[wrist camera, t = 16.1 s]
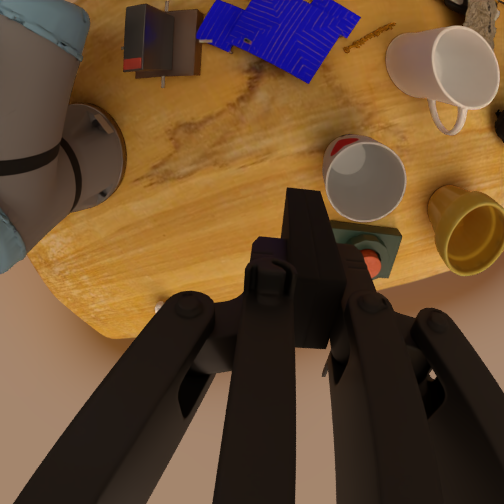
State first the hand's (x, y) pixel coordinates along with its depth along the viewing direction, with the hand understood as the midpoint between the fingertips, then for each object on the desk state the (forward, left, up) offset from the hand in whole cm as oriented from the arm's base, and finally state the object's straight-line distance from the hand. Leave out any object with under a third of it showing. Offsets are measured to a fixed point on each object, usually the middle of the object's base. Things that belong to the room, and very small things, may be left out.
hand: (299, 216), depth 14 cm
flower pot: (+24, -7, -25) cm, 35 cm away
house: (-2, +11, -24) cm, 27 cm away
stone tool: (+24, +14, -24) cm, 37 cm away
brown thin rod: (+8, +14, -24) cm, 29 cm away
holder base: (-14, +10, -24) cm, 30 cm away
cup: (+8, -2, -25) cm, 26 cm away
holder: (-14, +10, -21) cm, 27 cm away
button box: (+12, -15, -24) cm, 31 cm away
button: (+12, -15, -21) cm, 28 cm away
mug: (+15, +9, -25) cm, 30 cm away
